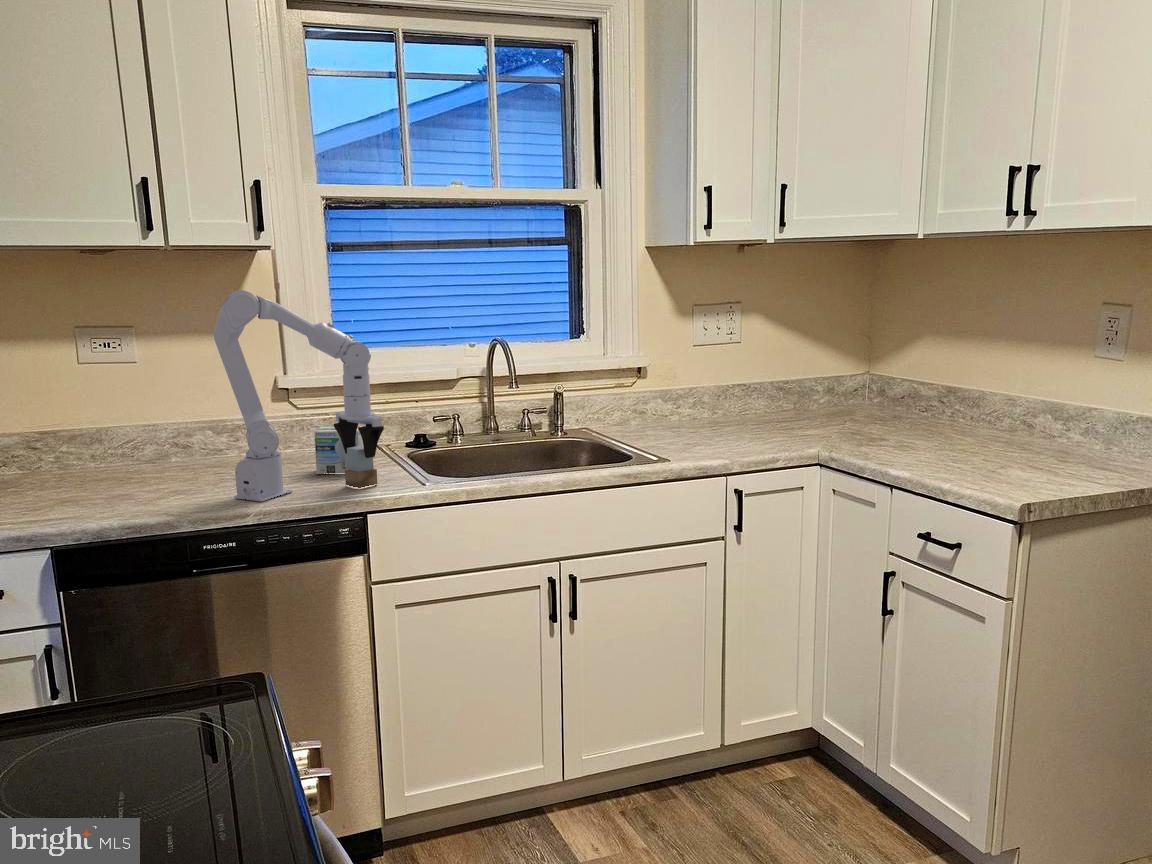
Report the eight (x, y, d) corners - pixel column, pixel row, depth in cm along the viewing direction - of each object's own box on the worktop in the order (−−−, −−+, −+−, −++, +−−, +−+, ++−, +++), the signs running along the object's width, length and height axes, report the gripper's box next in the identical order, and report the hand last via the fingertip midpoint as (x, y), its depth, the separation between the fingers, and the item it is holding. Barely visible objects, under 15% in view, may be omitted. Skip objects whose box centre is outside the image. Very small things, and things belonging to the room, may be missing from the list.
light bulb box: (315, 475, 213) (313, 431, 211) (322, 469, 220) (320, 426, 218) (360, 474, 214) (358, 430, 212) (366, 468, 220) (364, 425, 218)
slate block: (358, 472, 198) (357, 450, 197) (348, 469, 201) (346, 448, 200) (373, 469, 201) (372, 447, 200) (362, 466, 204) (361, 445, 203)
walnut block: (359, 490, 198) (358, 473, 197) (345, 487, 201) (344, 470, 201) (377, 486, 202) (376, 469, 201) (363, 483, 205) (363, 466, 204)
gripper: (391, 395, 197) (394, 456, 199) (352, 390, 206) (355, 448, 208) (365, 399, 191) (368, 461, 194) (326, 394, 201) (329, 453, 203)
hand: (360, 455), depth 201 cm, fingers open, 7 cm apart
